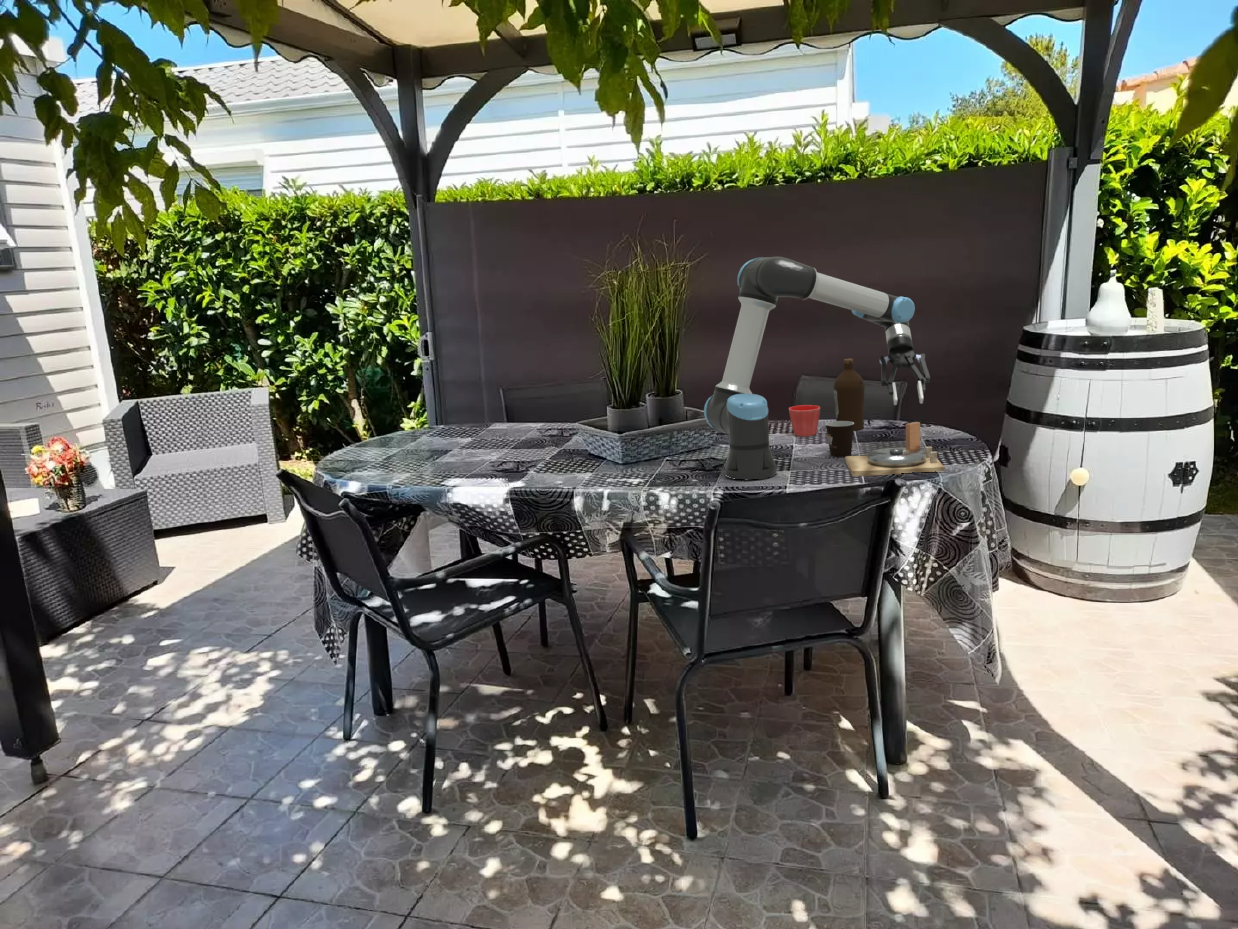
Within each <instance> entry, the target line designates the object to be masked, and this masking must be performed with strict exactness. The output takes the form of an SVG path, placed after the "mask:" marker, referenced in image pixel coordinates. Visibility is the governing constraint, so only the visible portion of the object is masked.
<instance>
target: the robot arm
mask: <svg viewBox="0 0 1238 929" xmlns="http://www.w3.org/2000/svg"><path fill="white" fill-rule="evenodd" d="M736 279H737V287H738V288H739V293H738V298H737V299H738V300H739V303H740V305H741V306H740V310H739V314H738V318H737V321H736V324H735V330H734V334H733V337H732V341H731V345H730V348H729V354H728V356H727V361H726V365H725V369H724V372H723V376H722V380H721V381H720V382H719V383H718V384H716V385H715V386H714V391H713V395H711V396H710V397H708V399H706V402H705V404H704V406H703V414H704V418H705V421H706V424H708V426H710V428H712V429H713V430H715V431H716V432H719V433H722V434H725V435H728V444H729V451H728V456H727V458H726V463H725V467H724V475H725V474H726V475H727V476H729V477H731V478H735V479H759V480H765V479H769V478H772V477H774V476H776V475H777V474H778V472H777V464H776V461H775V458H774V456H773V453H772V451H771V449H770V434H769V432H770V431H769V429H770V428H769V407H768V401H767V399H766V398H765V397H764V396H762V395H760V394H757V393H756V394H755V393H753V392H752V391H751V389H750V385H751V382H752V379H753V374H754V370H755V367H756V363H757V360H758V356H759V353H760V352H759V351H760V348H761V344H762V341H763V337H764V336H763V335H764V332H765V329H766V324H767V321H768V317H769V313H770V311H771V310H774V309H775V308H776V306H777V302H778V299H779V298H795V299H800V300H802V301H805V300H807V299H811V300H814V301H819V302H821V303H822V302H823V303H826V304H828V305H833V306H837V307H840V308H844V309H847V310H849V311H850V310H851V313H852V314H853V315H854V316H856V317H858V318H859V319H862V320H865V321H867V322H870V323H873V324H876V325H878V326H880V327H883V329H884V332H885V338H886V340H885V341H886V345H887V352H888V355H887V356H883V355H881V356H880V357H879V365H880V367H881V368H880V370H881V371H880V372H881V373H880V376H881V377H880V385H881V386H882V387H885V386H886V387H887V389H888V394H889V396H892V399H893V400H892V401H893V405H894V406H897V405H898V399H899V398H898V395H897V394H898V393H897V387H896V386H897V385H896V382H894V381H895V380H894V379H895V376H896V372H897V370H898V369H901V368H906V369H908V371H910V372H911V374H912V376H913V377H914V378H915V380H916V381H917V384H916V388H917V389H916V390H917V393H918V399H919V400H918V401H919V404H924V394H925V393H926V384H929V383H930V380H931V376H930V372H929V369H928V367H927V362H926V354H925V353H923V352H922V353H921V354H917V353H916V352H915V351H914V344H913V339H912V333H911V328H910V320H911V319H912V318H913V316H914V314H915V310H916V307H915V303H914V301H913V300H912V299H911V298H910V297H906V296H905V297H904V296H896V295H892V294H890V293H889V294H888V293H886V292H883V291H879V290H877V289H873V288H869V287H867V286H863V285H859V284H857V283H853V282H849V281H846V280H843V279H840V278H837V277H833V276H830V275H827V274H824V273H822V272H821V273H820V272H817V269H816V268H815V267H813V266H809V265H807V264H805V263H801V262H798V261H795V260H793V259H790V258H786V257H783V256H772V257H771V256H768V257H763V256H761V257H756V258H753V259H750V260H748V261H747V262H745V263H744V264H743V265H742V266H741V267H740V269H739V272H738V274H737V278H736ZM915 360H916V361H917V362H918V363H919V368H920V370H921V372H920V370H919V368H918V367H917V365H916V364H915V362H914V361H915ZM888 362H890V364H892V367H891V372H890V373H889V378H888V379H887V364H888ZM775 474H776V475H775ZM768 477H769V478H768Z"/></svg>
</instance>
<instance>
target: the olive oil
mask: <svg viewBox="0 0 1238 929" xmlns="http://www.w3.org/2000/svg"><path fill="white" fill-rule="evenodd" d="M854 368H855V367H854V359H853V358H844V359H843V370H842V372H840V374H839V375H838V376H837V378H836V379H835V380H834V383H833V395H834V396H833V397H834V407H835V408H834V409H835V410H834V411H835V421H850V422H854V431H853V432H856V431H855V430H857V431H861V430H863V429H864V428H865V425H864V424H865V422H864V421H865V418H864V417H865V393H866V392H865V388H866V387H865V386H866V385H865V382H864V379H863V378H862V376H861V375H860V374H859V373H858V372H856V370H854Z"/></svg>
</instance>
